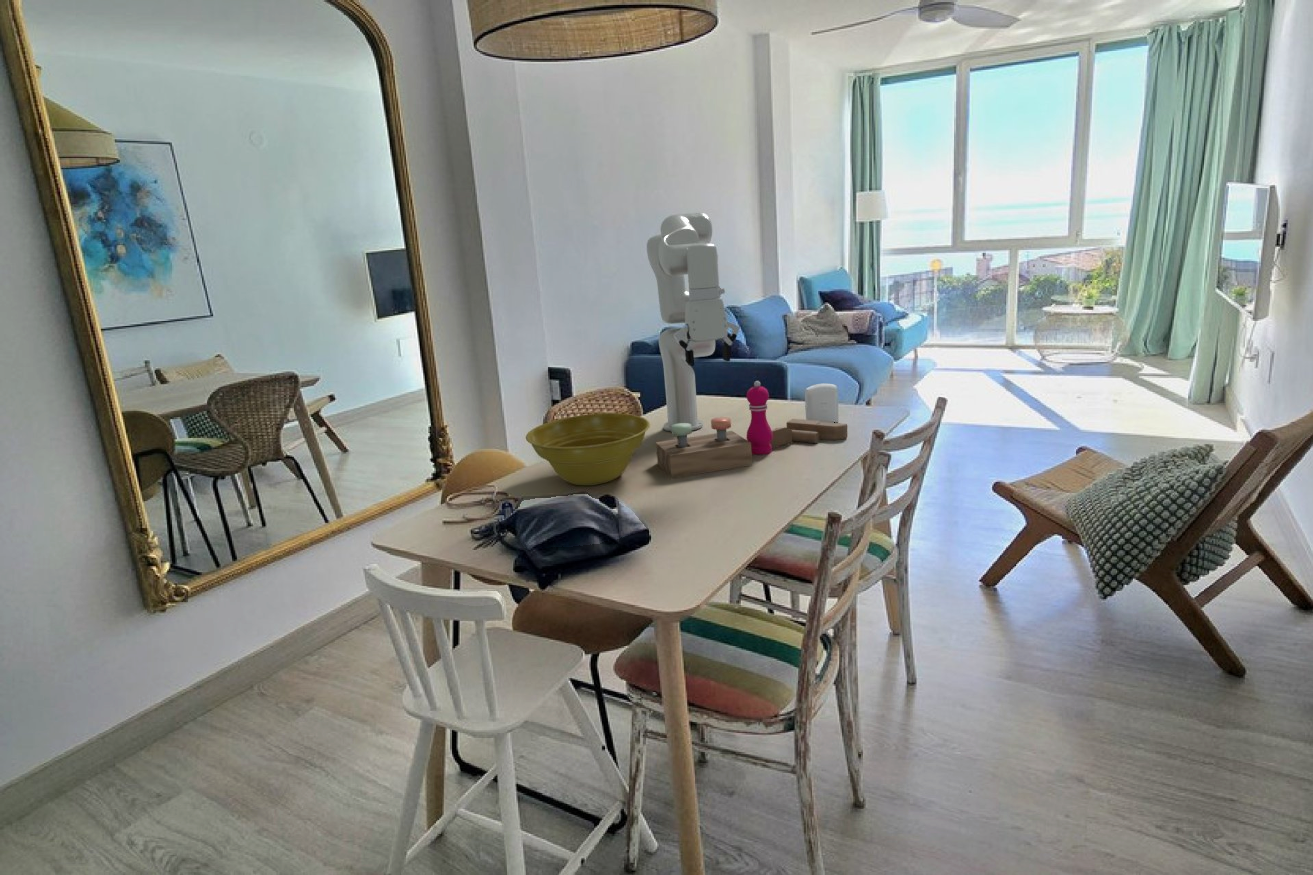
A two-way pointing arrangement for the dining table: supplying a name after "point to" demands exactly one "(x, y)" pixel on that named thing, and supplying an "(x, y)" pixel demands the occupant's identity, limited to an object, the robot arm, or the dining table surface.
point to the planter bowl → (589, 445)
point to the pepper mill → (759, 420)
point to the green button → (681, 433)
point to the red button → (721, 427)
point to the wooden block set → (807, 432)
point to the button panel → (703, 454)
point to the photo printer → (822, 403)
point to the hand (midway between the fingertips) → (708, 363)
